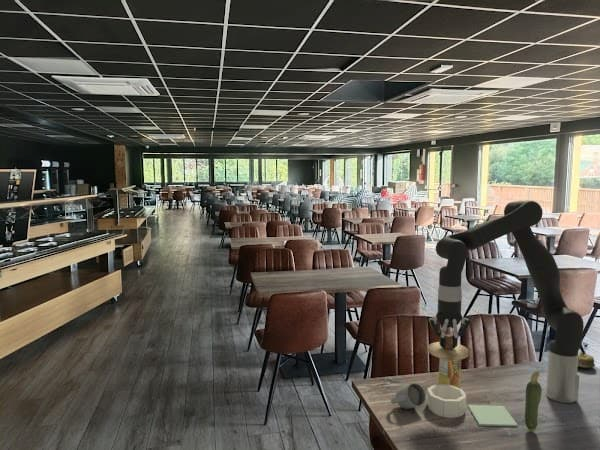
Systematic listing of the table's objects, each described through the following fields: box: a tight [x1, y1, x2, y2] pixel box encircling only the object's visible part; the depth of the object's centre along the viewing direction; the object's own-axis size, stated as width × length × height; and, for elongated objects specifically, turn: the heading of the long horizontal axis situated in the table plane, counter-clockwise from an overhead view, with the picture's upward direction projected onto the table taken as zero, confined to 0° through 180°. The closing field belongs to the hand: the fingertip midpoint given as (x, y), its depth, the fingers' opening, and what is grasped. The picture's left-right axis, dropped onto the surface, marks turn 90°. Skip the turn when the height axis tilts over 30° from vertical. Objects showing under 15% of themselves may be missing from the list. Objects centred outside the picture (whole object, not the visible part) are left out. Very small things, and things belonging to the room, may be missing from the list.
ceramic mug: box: [390, 382, 427, 410], centre depth 155 cm, size 11×8×8 cm
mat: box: [467, 404, 519, 428], centre depth 151 cm, size 12×12×1 cm
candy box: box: [438, 358, 462, 388], centre depth 170 cm, size 9×4×15 cm, turn 129°
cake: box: [577, 351, 596, 369], centre depth 192 cm, size 10×10×5 cm
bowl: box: [426, 383, 467, 419], centre depth 156 cm, size 12×12×6 cm
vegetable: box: [524, 371, 543, 433], centre depth 142 cm, size 4×4×20 cm
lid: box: [427, 333, 470, 361], centre depth 154 cm, size 13×13×6 cm
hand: (448, 347), depth 154 cm, fingers closed on lid, 3 cm apart
